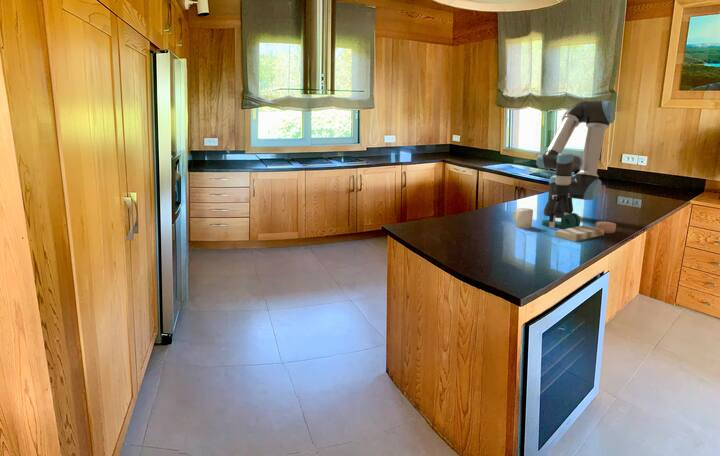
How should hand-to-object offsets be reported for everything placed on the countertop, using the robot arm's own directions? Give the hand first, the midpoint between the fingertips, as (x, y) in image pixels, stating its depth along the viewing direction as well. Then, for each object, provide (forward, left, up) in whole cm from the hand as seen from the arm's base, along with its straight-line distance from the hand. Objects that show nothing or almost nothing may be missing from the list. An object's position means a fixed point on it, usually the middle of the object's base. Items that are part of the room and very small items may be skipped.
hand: (558, 226), depth 259 cm
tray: (+7, +17, 0) cm, 18 cm away
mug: (+15, -11, 0) cm, 19 cm away
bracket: (0, 0, -1) cm, 1 cm away
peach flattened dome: (-12, +18, 0) cm, 22 cm away
